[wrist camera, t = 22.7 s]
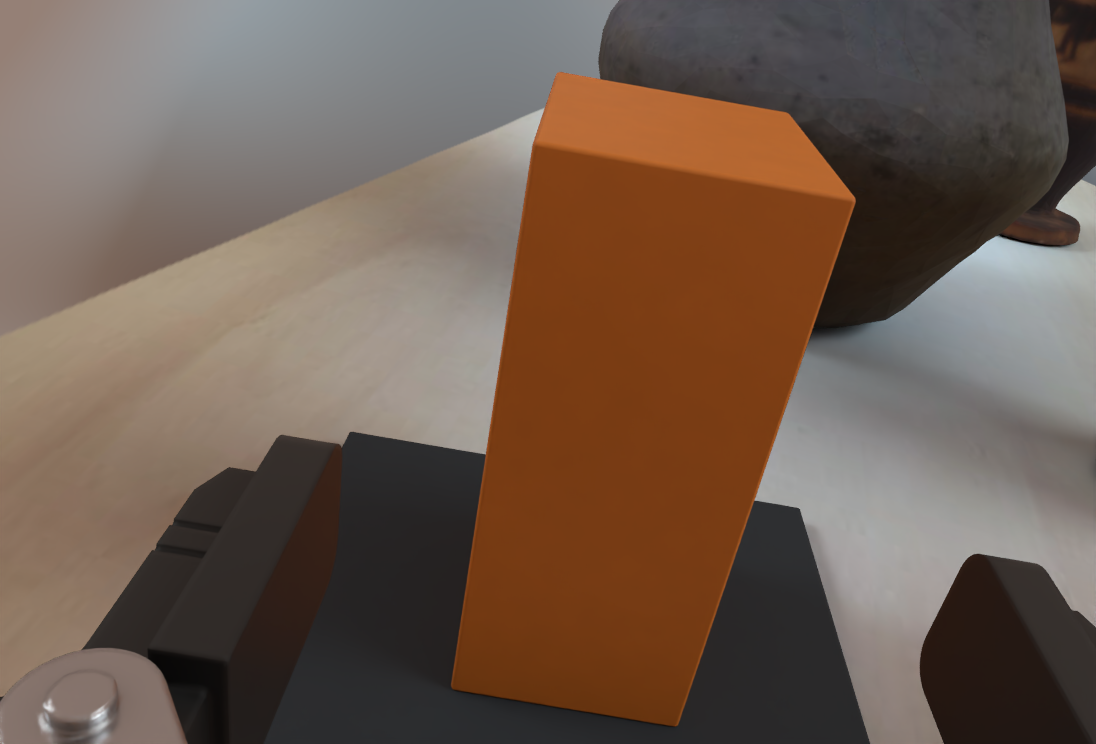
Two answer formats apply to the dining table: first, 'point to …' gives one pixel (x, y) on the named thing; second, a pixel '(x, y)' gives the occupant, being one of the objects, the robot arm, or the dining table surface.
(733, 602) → the mat
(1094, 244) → the dining table surface
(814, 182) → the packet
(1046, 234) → the vase
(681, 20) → the dark grey clay pot
